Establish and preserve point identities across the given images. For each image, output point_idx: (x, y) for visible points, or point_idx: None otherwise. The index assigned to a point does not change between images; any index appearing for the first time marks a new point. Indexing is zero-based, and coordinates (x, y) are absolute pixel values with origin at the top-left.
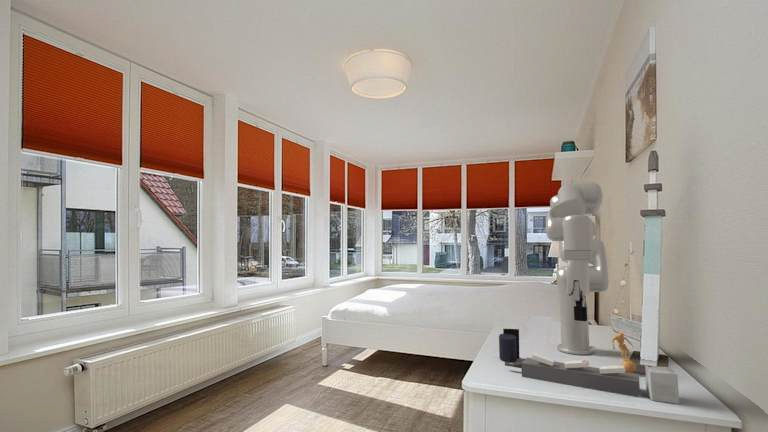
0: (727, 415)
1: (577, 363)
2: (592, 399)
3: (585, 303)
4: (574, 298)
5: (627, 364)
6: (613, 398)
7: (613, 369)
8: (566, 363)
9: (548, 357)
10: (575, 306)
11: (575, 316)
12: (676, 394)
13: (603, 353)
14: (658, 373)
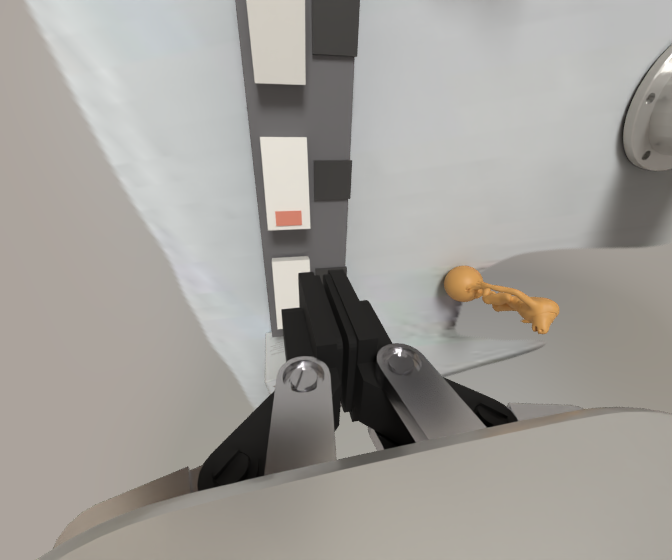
0: None
1: (265, 195)
2: (168, 230)
3: (374, 443)
4: (265, 471)
5: (454, 289)
6: (221, 271)
7: (275, 301)
8: (265, 147)
9: (303, 43)
10: (289, 369)
11: (303, 294)
12: None
13: (644, 194)
14: (270, 393)
